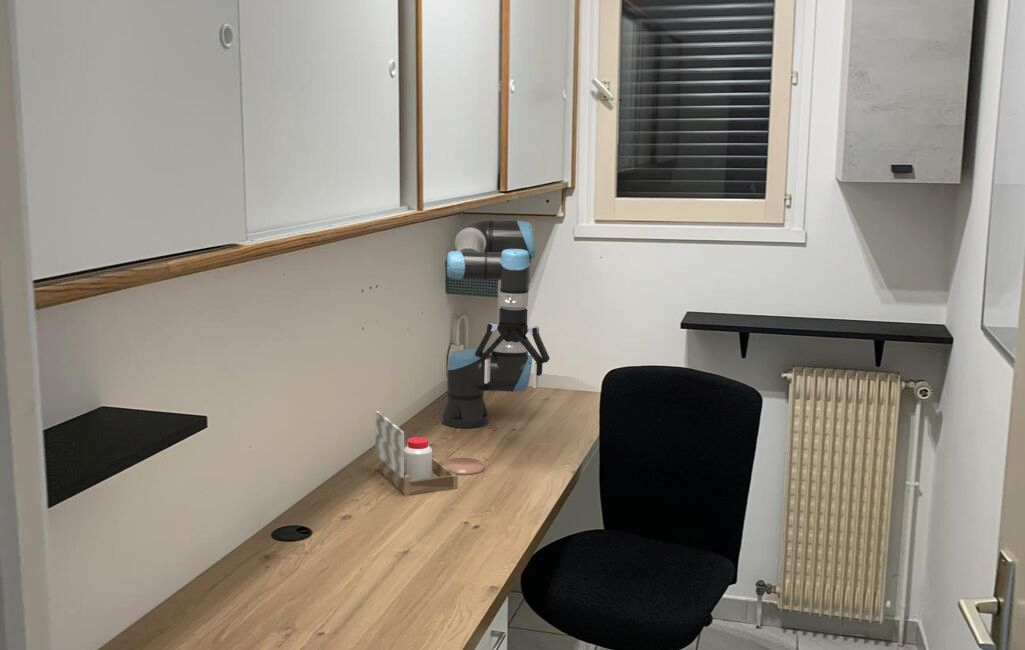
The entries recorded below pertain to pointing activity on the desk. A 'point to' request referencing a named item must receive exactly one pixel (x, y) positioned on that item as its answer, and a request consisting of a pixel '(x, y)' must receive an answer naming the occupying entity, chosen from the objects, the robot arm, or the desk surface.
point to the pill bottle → (418, 458)
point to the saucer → (464, 466)
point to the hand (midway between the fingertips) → (511, 384)
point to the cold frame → (393, 462)
